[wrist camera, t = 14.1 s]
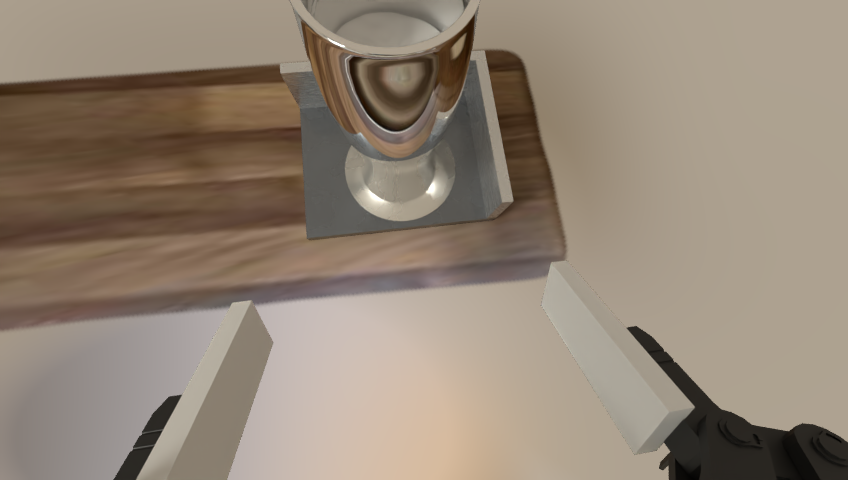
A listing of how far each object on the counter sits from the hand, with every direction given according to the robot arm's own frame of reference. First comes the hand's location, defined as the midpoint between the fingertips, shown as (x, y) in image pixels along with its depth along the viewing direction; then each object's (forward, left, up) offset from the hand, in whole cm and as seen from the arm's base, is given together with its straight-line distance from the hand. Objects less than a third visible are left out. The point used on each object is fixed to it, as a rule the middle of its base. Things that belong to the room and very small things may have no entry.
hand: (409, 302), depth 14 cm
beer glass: (-10, +3, -9) cm, 14 cm away
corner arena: (-11, +3, -10) cm, 15 cm away
